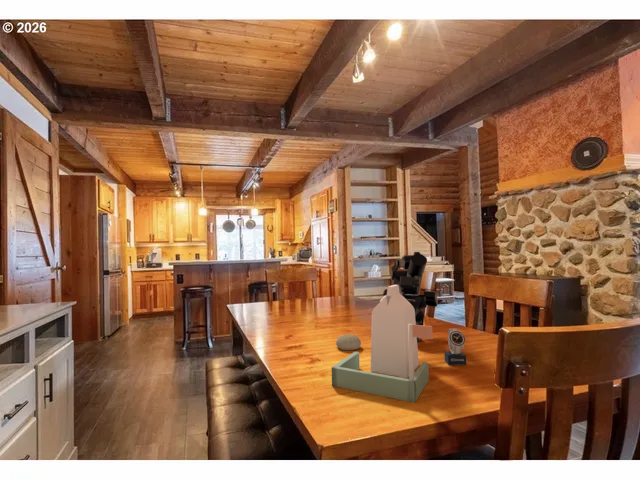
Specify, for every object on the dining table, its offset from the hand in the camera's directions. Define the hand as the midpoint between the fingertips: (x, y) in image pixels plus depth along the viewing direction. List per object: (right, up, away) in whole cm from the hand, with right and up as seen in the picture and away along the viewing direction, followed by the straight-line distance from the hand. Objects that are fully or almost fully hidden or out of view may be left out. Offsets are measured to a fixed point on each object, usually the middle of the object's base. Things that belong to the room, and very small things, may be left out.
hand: (405, 316), depth 120 cm
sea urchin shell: (-19, -14, +11) cm, 26 cm away
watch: (+14, -13, -8) cm, 21 cm away
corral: (-11, -13, -24) cm, 29 cm away
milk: (-6, -14, -12) cm, 19 cm away
